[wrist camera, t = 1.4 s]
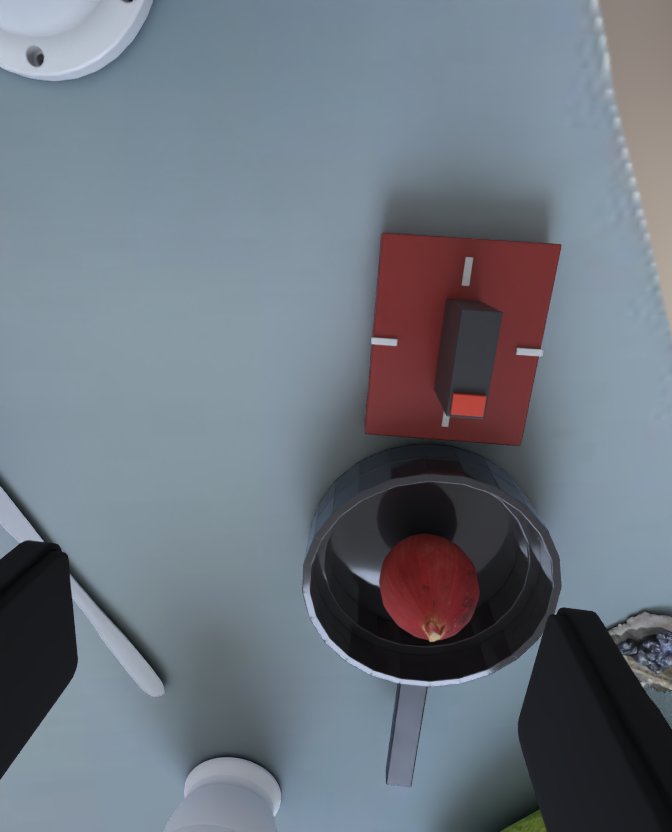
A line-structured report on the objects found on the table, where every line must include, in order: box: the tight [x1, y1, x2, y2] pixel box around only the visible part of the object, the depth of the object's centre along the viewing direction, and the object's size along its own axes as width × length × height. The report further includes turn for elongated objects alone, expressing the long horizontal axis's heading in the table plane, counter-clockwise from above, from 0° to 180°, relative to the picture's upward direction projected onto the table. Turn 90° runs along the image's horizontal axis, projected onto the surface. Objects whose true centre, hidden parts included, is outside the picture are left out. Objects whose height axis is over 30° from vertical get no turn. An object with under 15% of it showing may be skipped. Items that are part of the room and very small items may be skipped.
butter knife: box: [0, 486, 165, 697], centre depth 35 cm, size 1×27×3 cm
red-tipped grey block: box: [434, 298, 503, 419], centre depth 24 cm, size 5×2×5 cm, turn 176°
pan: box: [302, 444, 561, 687], centre depth 31 cm, size 15×15×4 cm
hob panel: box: [365, 233, 561, 446], centre depth 27 cm, size 11×9×2 cm
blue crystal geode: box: [608, 612, 672, 693], centre depth 34 cm, size 7×8×2 cm
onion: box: [379, 533, 480, 642], centre depth 29 cm, size 6×6×8 cm
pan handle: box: [386, 683, 428, 787], centre depth 34 cm, size 10×2×1 cm, turn 176°
